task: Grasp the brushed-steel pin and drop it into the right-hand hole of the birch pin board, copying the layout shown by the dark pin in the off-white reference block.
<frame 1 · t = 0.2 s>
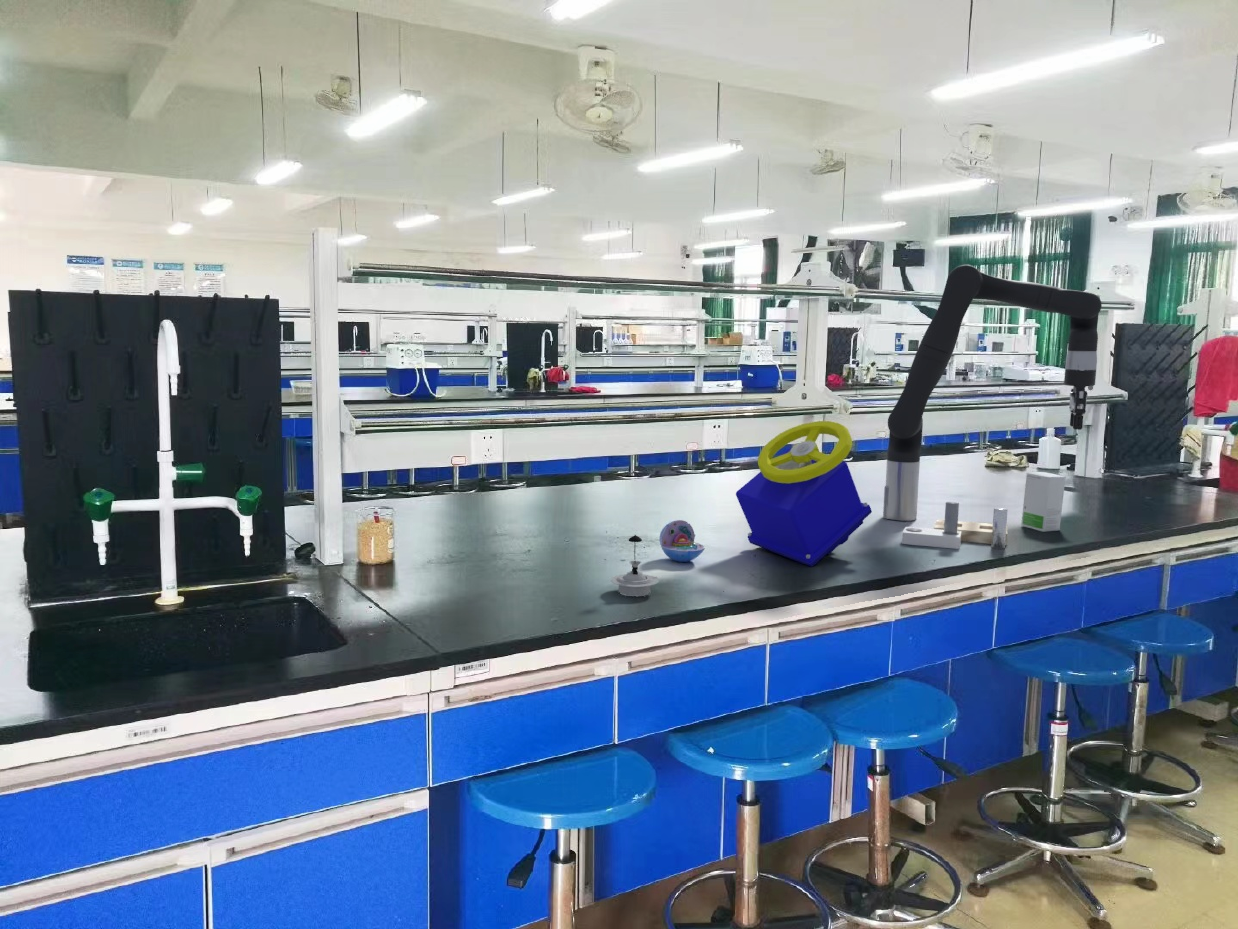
hand: (1075, 427, 246), 29 cm above the countertop, fingers open, 8 cm apart
skincare box: (1041, 529, 254), on the countertop
pin board: (970, 537, 242), on the countertop
reference block: (931, 543, 235), on the countertop
control box: (805, 558, 219), on the countertop
white domed rod stand: (634, 593, 187), on the countertop
cell model: (681, 561, 214), on the countertop
steel pin: (998, 547, 230), on the countertop
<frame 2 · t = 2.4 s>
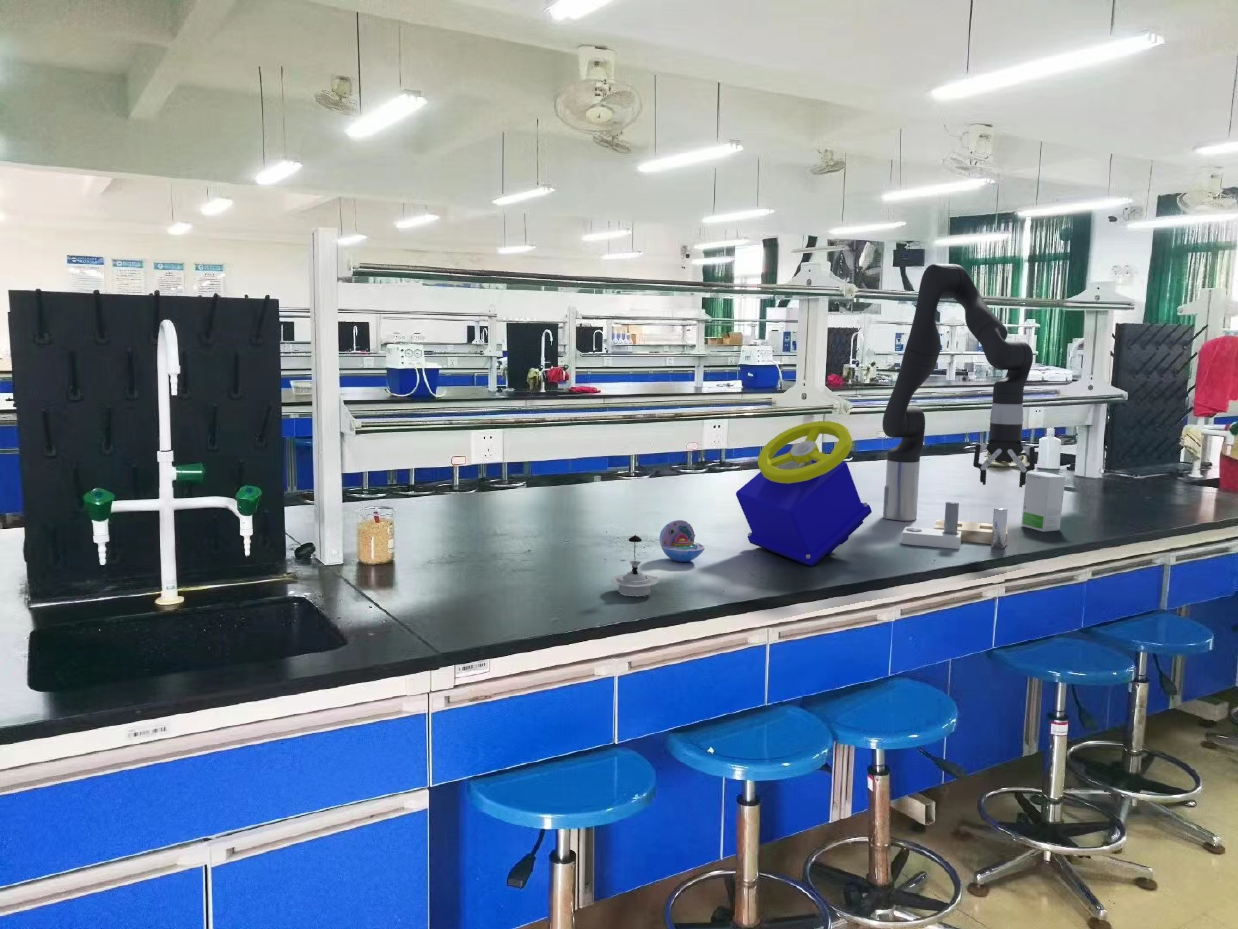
hand: (1002, 485, 228), 16 cm above the countertop, fingers open, 8 cm apart
nothing on the countertop moved.
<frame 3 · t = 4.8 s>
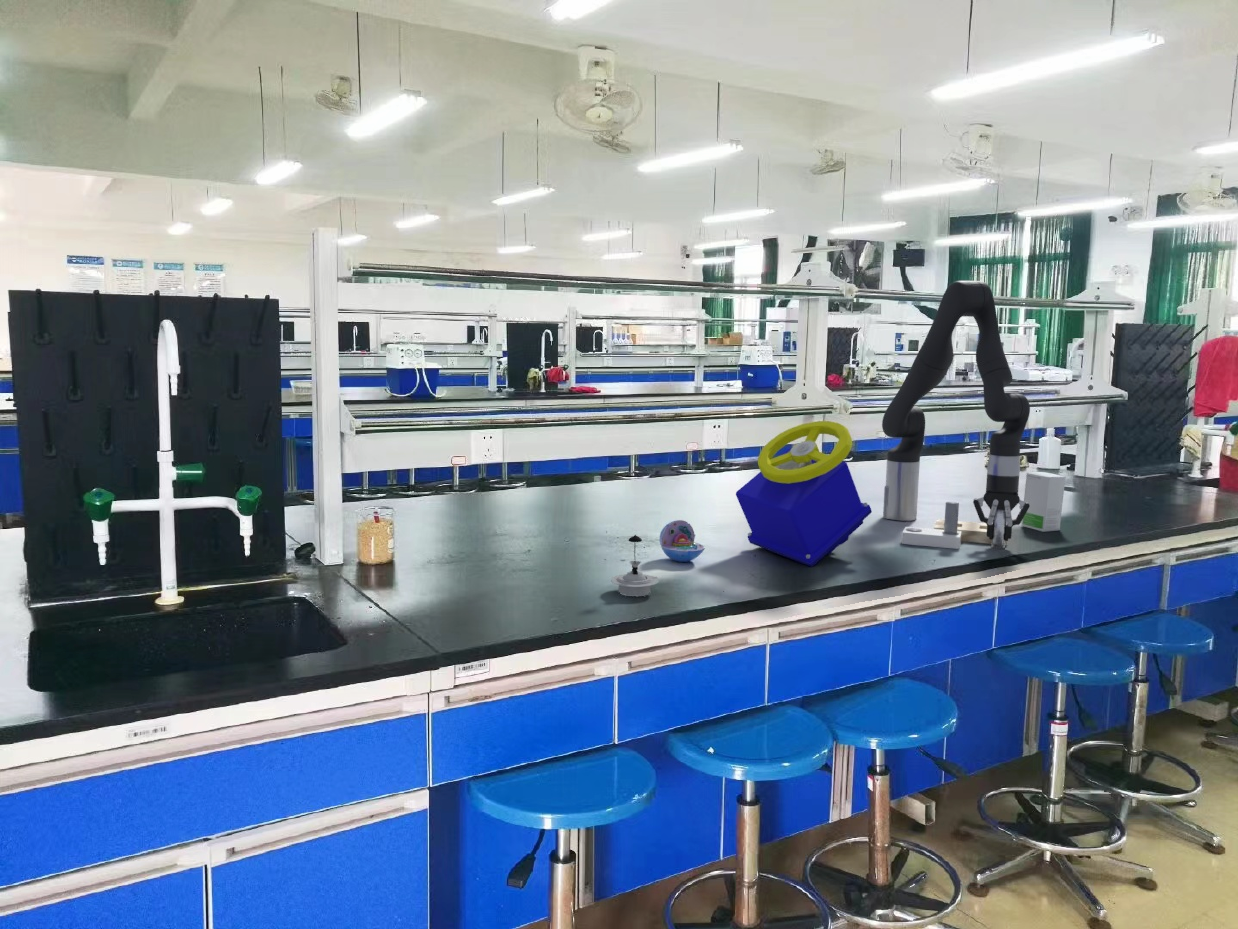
hand: (998, 539, 230), 2 cm above the countertop, fingers closed on steel pin, 3 cm apart
steel pin: (998, 547, 230), on the countertop, touching gripper
everything else where it was.
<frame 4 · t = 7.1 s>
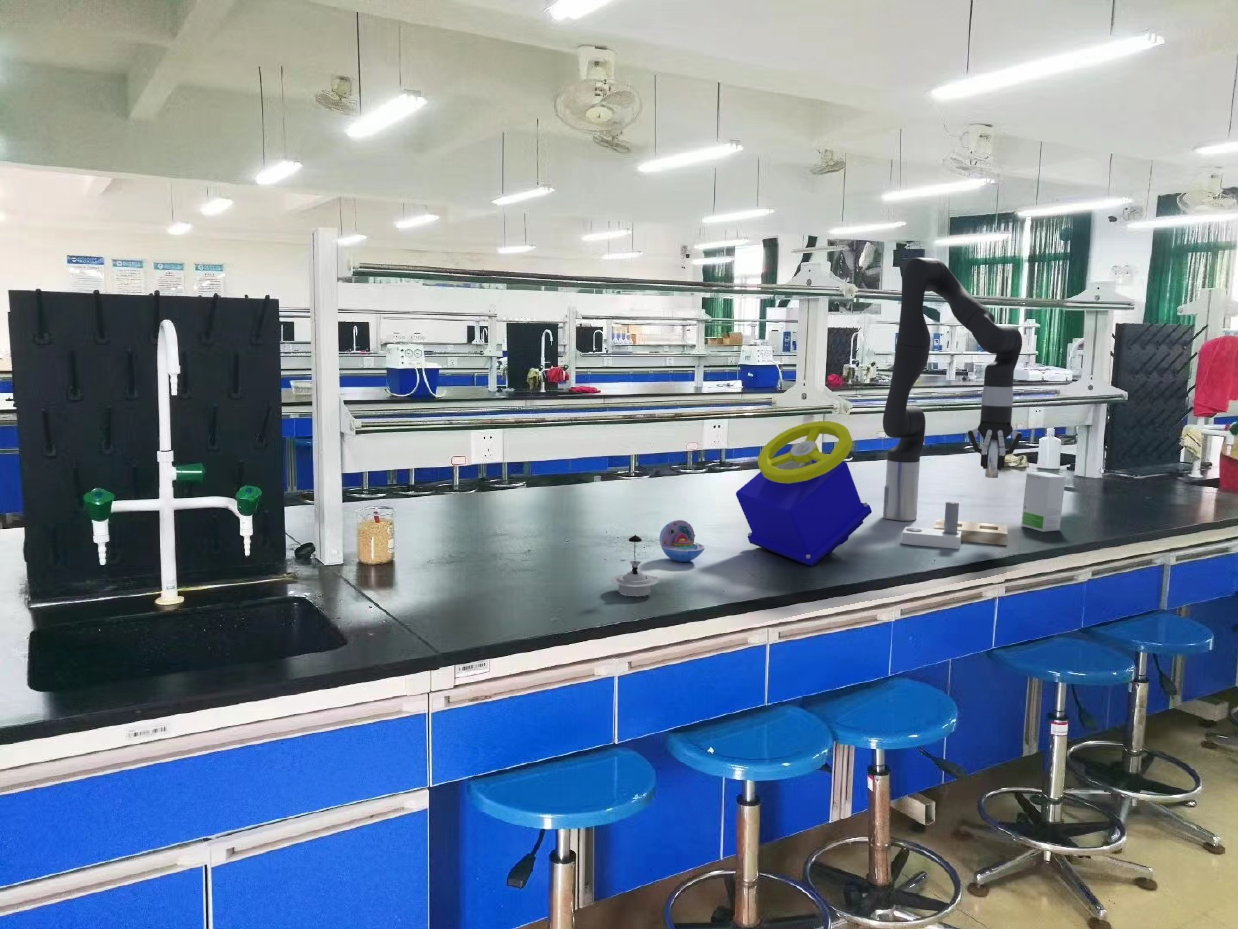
hand: (992, 468, 238), 19 cm above the countertop, fingers closed on steel pin, 3 cm apart
steel pin: (991, 476, 238), point 17 cm above the countertop, touching gripper
everything else where it was.
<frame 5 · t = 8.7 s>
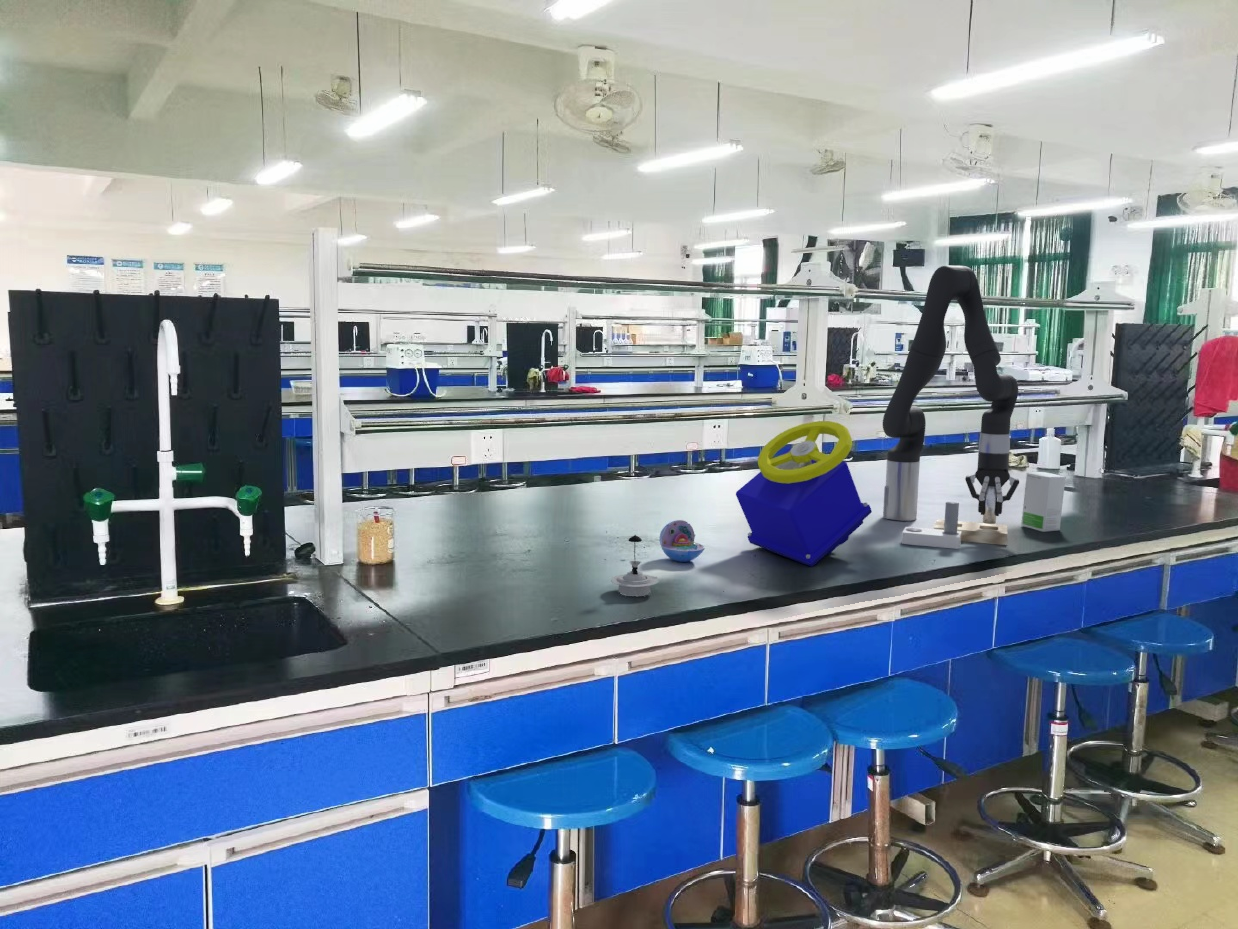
hand: (989, 514, 239), 7 cm above the countertop, fingers closed on steel pin, 3 cm apart
steel pin: (989, 522, 240), point 4 cm above the countertop, touching gripper
everything else where it was.
when the fingers open (4 cm above the countertop, at t = 9.9 s): steel pin drops 1 cm, resting in pin board.
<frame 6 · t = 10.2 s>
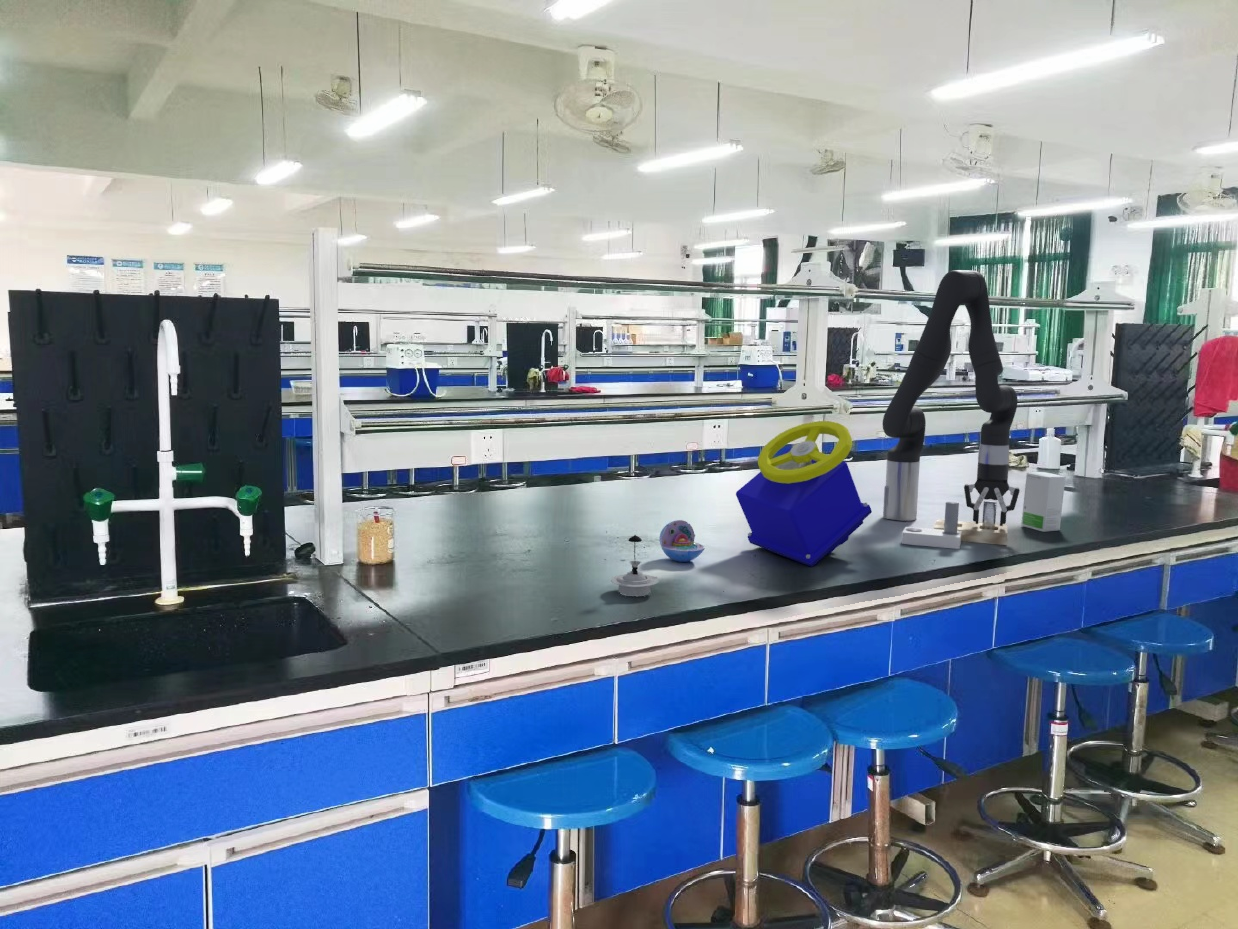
hand: (989, 524, 240), 4 cm above the countertop, fingers open, 5 cm apart
steel pin: (987, 538, 240), resting in pin board
everything else where it was.
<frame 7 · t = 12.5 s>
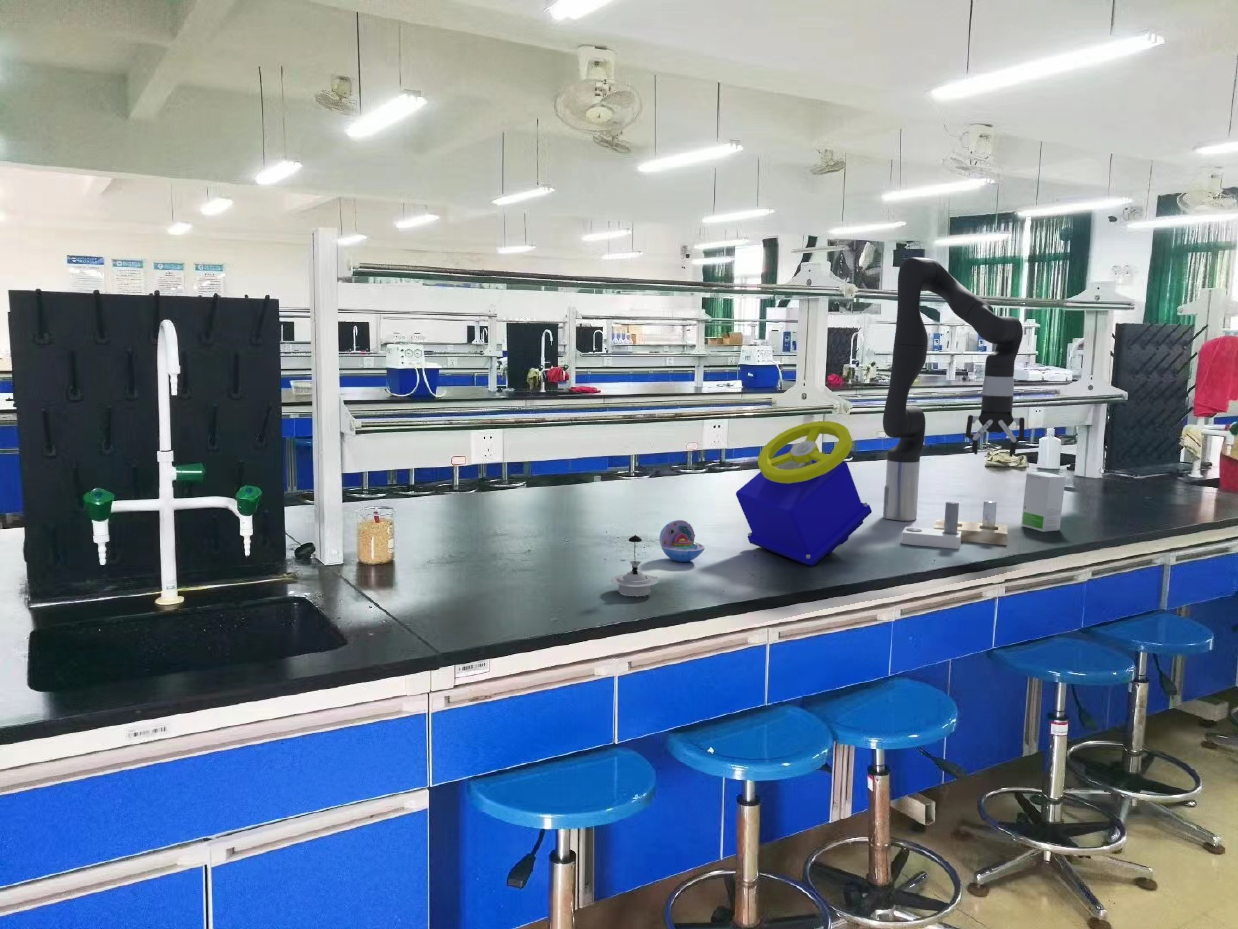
hand: (993, 455, 238), 22 cm above the countertop, fingers open, 8 cm apart
nothing on the countertop moved.
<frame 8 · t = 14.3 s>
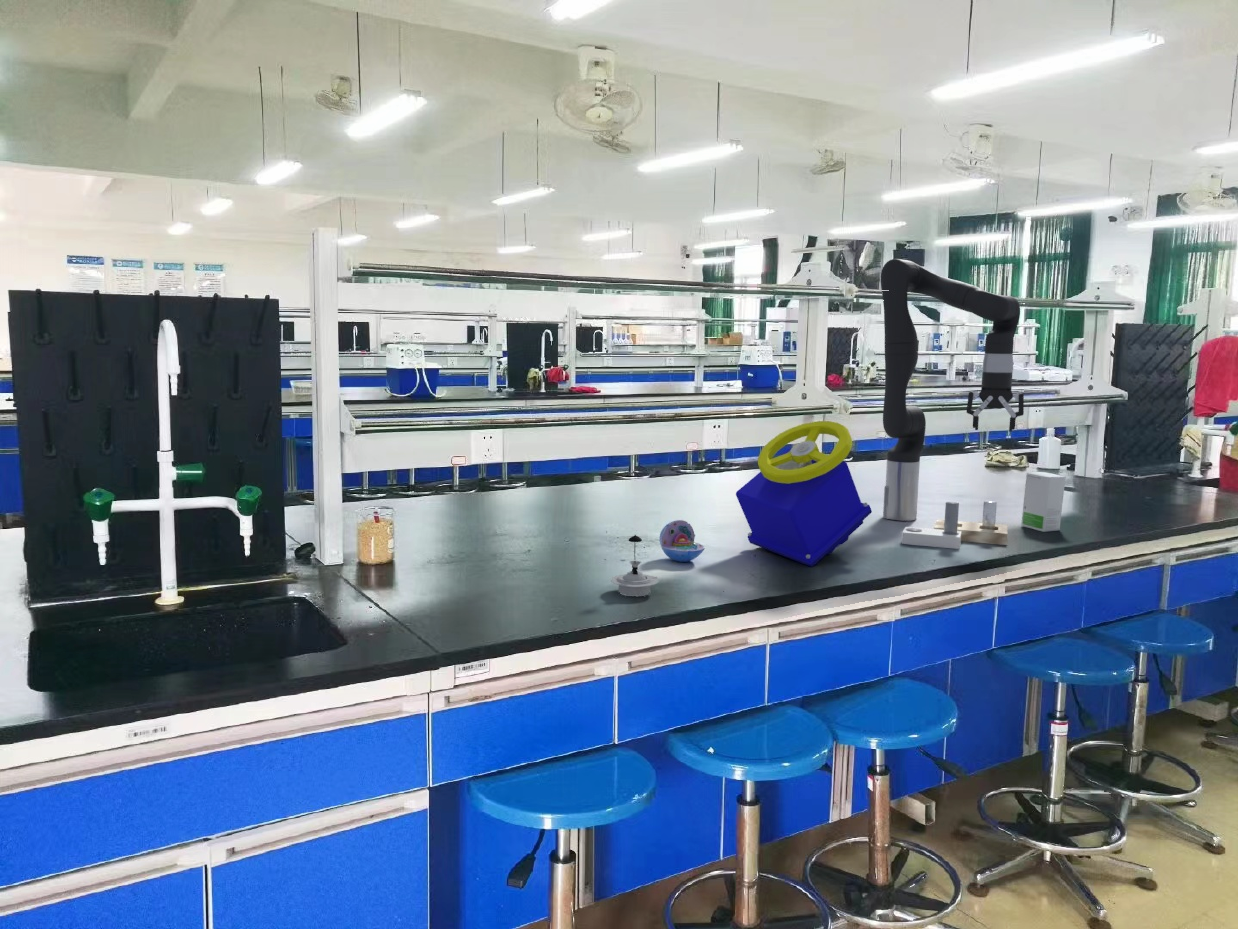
hand: (993, 430, 245), 28 cm above the countertop, fingers open, 8 cm apart
nothing on the countertop moved.
at the end: steel pin 0.1 cm from the target spot on the pin board, point 0.0 cm above the pin board's base; steel pin tilted 0°; the gripper is holding nothing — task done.
